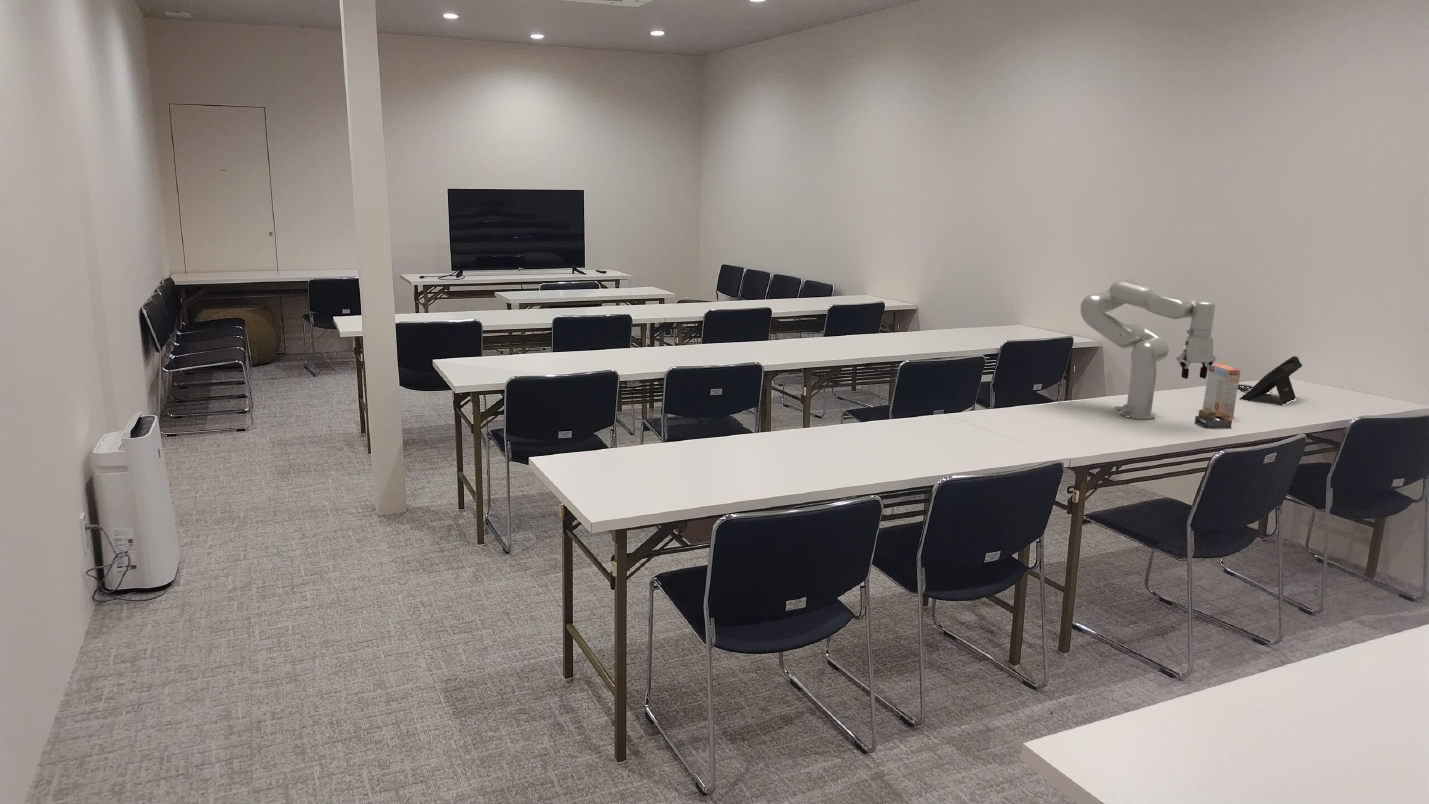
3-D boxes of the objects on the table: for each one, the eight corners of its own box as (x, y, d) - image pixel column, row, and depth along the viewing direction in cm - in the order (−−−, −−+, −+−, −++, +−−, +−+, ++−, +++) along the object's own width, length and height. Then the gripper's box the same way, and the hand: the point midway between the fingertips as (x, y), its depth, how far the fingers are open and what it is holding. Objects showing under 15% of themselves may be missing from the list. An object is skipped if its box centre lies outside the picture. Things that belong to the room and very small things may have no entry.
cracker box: (1233, 419, 367) (1241, 369, 362) (1218, 419, 367) (1226, 369, 362) (1215, 411, 380) (1223, 362, 375) (1201, 410, 380) (1208, 362, 375)
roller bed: (1207, 428, 352) (1208, 416, 351) (1194, 423, 360) (1196, 411, 359) (1230, 428, 353) (1232, 415, 352) (1217, 422, 361) (1219, 410, 360)
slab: (1205, 419, 353) (1206, 412, 353) (1198, 416, 358) (1199, 409, 357) (1215, 419, 354) (1216, 412, 353) (1207, 416, 358) (1208, 409, 357)
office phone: (1237, 386, 429) (1244, 345, 424) (1304, 397, 408) (1312, 354, 403) (1212, 395, 411) (1218, 352, 406) (1280, 407, 390) (1288, 362, 385)
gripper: (1184, 334, 342) (1178, 380, 346) (1227, 334, 344) (1220, 379, 348) (1173, 331, 349) (1167, 376, 354) (1214, 331, 351) (1208, 375, 355)
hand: (1193, 377), depth 351 cm, fingers open, 6 cm apart
